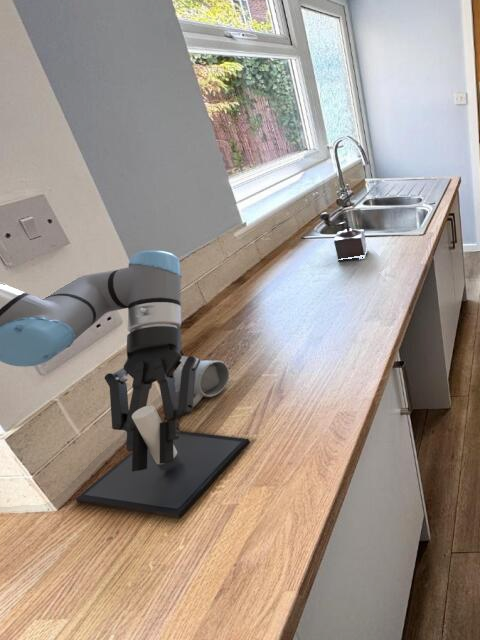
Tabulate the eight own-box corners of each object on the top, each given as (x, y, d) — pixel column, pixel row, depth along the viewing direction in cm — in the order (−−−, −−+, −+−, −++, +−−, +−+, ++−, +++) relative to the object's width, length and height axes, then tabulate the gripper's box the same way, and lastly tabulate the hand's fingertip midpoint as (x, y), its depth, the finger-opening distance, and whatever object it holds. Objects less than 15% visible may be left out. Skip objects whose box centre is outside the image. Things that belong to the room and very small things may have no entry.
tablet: (77, 503, 68) (74, 498, 67) (161, 432, 81) (159, 428, 81) (180, 518, 64) (177, 514, 64) (249, 442, 78) (248, 438, 78)
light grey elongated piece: (154, 469, 71) (126, 417, 66) (170, 455, 74) (144, 404, 69) (169, 471, 70) (142, 419, 66) (184, 456, 73) (159, 406, 68)
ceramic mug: (203, 378, 96) (191, 352, 93) (234, 380, 95) (223, 354, 92) (162, 411, 86) (148, 384, 83) (196, 414, 85) (182, 386, 82)
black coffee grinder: (368, 249, 169) (360, 208, 162) (365, 259, 159) (357, 216, 152) (329, 253, 167) (319, 211, 159) (324, 264, 157) (313, 220, 149)
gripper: (86, 336, 69) (75, 485, 61) (196, 316, 74) (199, 451, 66) (114, 345, 76) (107, 480, 68) (214, 325, 81) (218, 449, 73)
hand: (153, 466), depth 67 cm, fingers closed on light grey elongated piece, 3 cm apart
